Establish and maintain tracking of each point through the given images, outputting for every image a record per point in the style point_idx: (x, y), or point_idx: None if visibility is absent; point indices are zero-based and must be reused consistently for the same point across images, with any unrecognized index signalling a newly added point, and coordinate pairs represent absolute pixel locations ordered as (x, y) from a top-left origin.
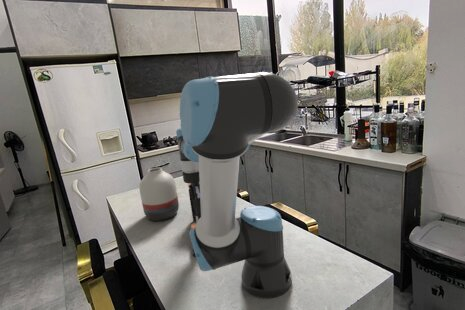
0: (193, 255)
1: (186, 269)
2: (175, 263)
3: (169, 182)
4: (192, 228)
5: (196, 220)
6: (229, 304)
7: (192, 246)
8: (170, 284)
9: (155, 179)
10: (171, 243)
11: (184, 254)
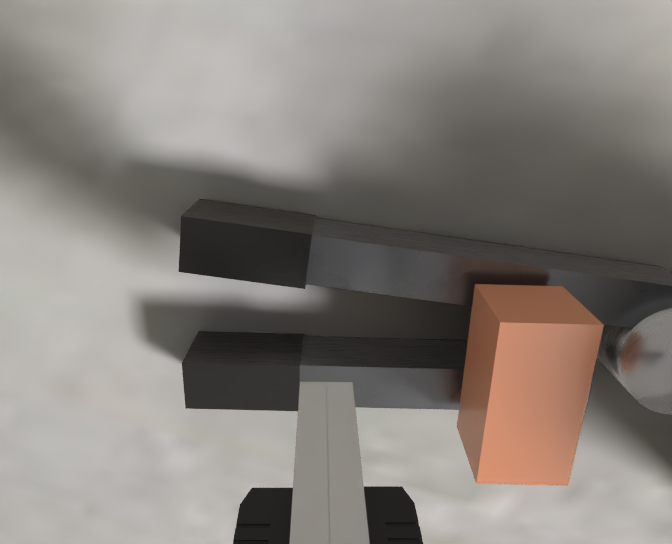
0: (198, 203)
1: (28, 98)
2: (162, 5)
3: None
4: (497, 322)
5: (326, 491)
6: None
7: (251, 230)
8: None
9: None
10: (574, 16)
11: (282, 123)
